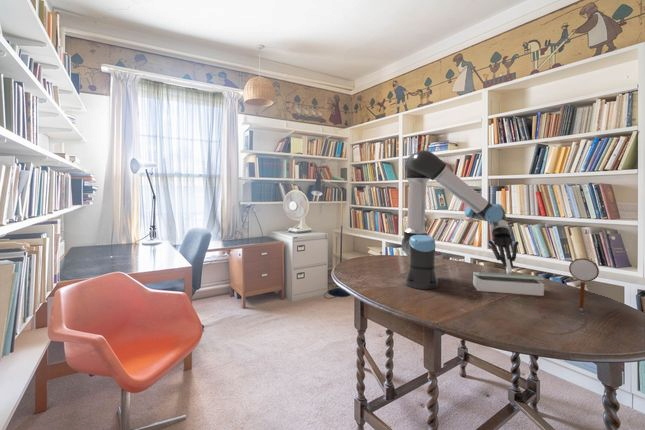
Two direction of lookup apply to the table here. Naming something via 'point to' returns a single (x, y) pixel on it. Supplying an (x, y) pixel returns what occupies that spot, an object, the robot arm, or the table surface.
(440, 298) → the table surface
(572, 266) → the magnifying glass
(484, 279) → the cable duct
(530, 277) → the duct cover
